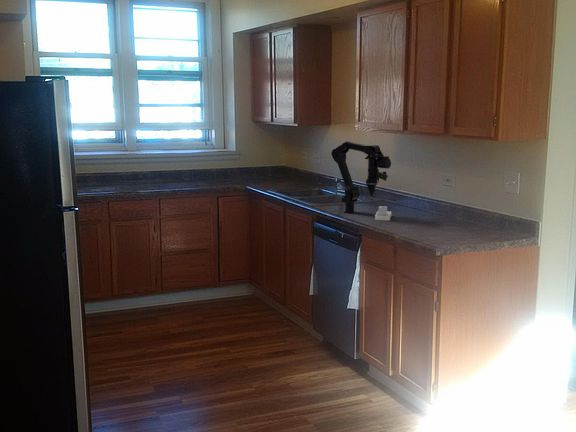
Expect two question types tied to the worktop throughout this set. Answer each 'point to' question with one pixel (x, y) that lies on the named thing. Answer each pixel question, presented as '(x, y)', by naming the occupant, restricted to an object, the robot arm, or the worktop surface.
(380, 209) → the box
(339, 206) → the worktop surface
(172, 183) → the worktop surface
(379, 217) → the power strip
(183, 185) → the worktop surface
